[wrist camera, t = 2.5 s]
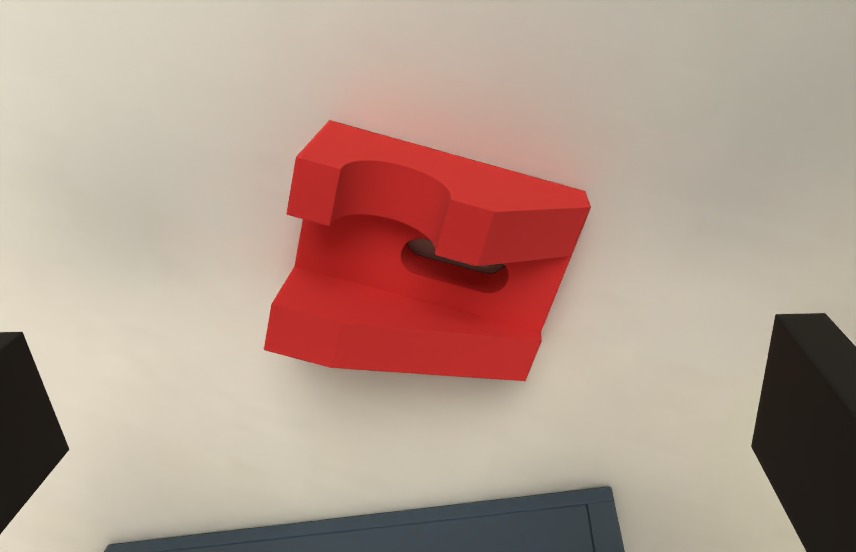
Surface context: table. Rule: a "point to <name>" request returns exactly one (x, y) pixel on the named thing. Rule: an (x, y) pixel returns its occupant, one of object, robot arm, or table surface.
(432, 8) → the table surface
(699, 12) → the table surface
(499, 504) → the tray
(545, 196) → the bracket
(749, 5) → the table surface
